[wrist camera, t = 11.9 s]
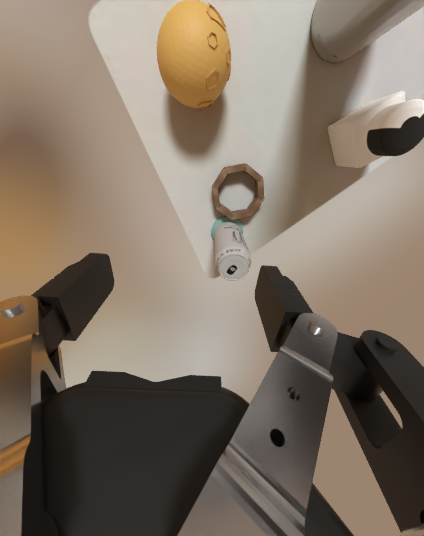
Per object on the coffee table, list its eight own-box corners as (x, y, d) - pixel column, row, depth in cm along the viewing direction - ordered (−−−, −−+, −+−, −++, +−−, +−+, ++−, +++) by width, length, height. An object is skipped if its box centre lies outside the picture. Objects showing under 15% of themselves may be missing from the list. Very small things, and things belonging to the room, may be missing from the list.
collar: (232, 153, 36) (234, 153, 34) (270, 185, 39) (274, 186, 37) (204, 197, 40) (203, 200, 38) (240, 223, 43) (242, 227, 41)
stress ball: (164, 93, 33) (188, 136, 30) (130, 7, 23) (161, 60, 21) (216, 61, 32) (245, 103, 30) (204, -41, 22) (245, 8, 20)
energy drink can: (246, 230, 43) (261, 264, 30) (230, 250, 46) (236, 289, 33) (224, 215, 42) (230, 243, 29) (208, 237, 44) (207, 272, 31)
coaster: (223, 210, 41) (223, 210, 41) (249, 228, 43) (249, 228, 43) (205, 235, 44) (205, 236, 44) (229, 251, 46) (230, 252, 46)
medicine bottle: (375, 144, 36) (442, 141, 25) (335, 166, 37) (382, 171, 27) (369, 101, 33) (443, 76, 22) (326, 127, 34) (375, 115, 24)
